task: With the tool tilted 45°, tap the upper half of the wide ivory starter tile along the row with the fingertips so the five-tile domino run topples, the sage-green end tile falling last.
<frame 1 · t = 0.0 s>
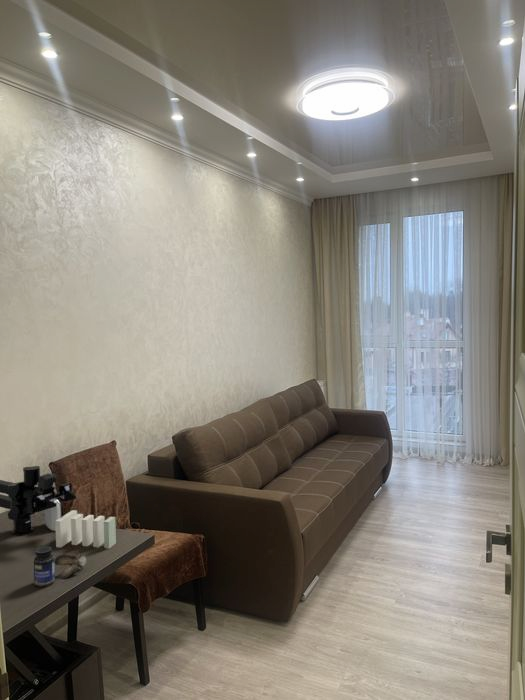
hand: (66, 501, 198), 17 cm above the table, tool horizontal, fingers open, 9 cm apart
pill bottle: (44, 583, 170), on the table
domino 4: (99, 544, 199), on the table
domino 2: (77, 542, 201), on the table
domino 5: (110, 545, 198), on the table
domino 3: (88, 543, 200), on the table
eagle figurine: (70, 573, 177), on the table
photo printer: (53, 527, 216), on the table
domino 1: (67, 541, 202), on the table
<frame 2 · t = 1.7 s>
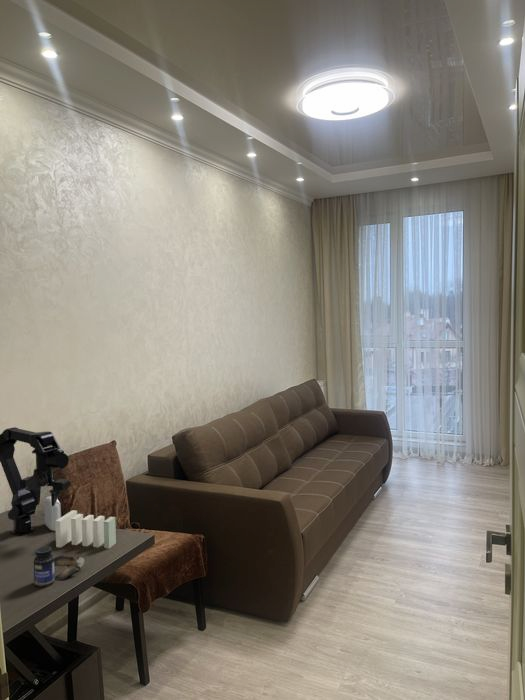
hand: (45, 505, 204), 13 cm above the table, tool pointing down, fingers open, 6 cm apart
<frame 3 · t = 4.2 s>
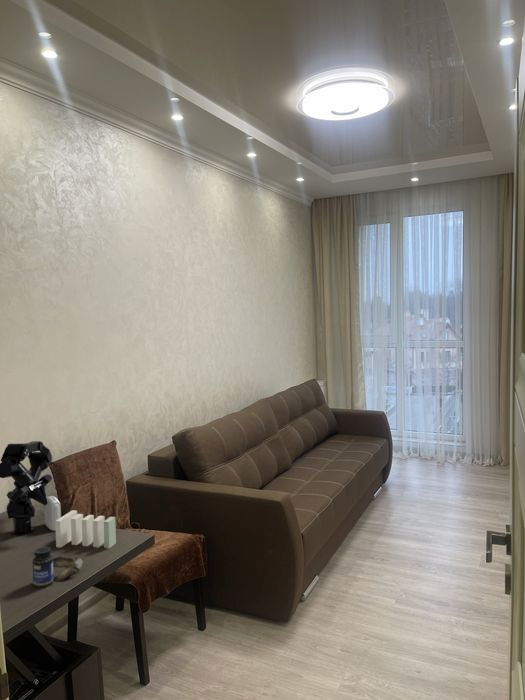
hand: (46, 504, 203), 14 cm above the table, tool tilted 45°, fingers closed
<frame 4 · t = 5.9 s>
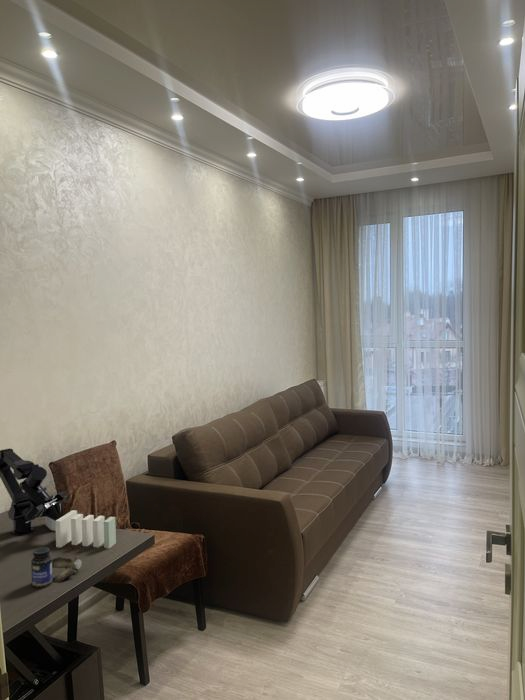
hand: (61, 522, 201), 7 cm above the table, tool tilted 45°, fingers closed
pill bottle: (42, 584, 170), on the table, touching eagle figurine
eagle figurine: (66, 576, 175), on the table, touching pill bottle
everything else where it was.
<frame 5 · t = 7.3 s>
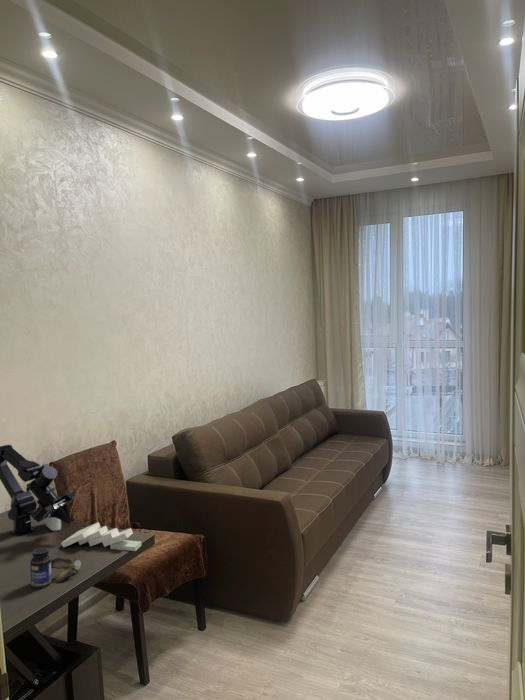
hand: (70, 523, 201), 7 cm above the table, tool tilted 45°, fingers closed
pill bottle: (41, 584, 169), on the table
domino 4: (106, 541, 198), point 1 cm above the table, tilted 66°, touching domino 5
domino 2: (82, 539, 200), point 1 cm above the table, tilted 64°, touching domino 1
domino 5: (113, 544, 198), on the table, tilted 90°, touching domino 4
domino 3: (92, 541, 200), point 1 cm above the table, tilted 66°
eagle figurine: (65, 577, 174), on the table
domino 1: (70, 539, 202), point 1 cm above the table, tilted 64°, touching domino 2
everything else where it was.
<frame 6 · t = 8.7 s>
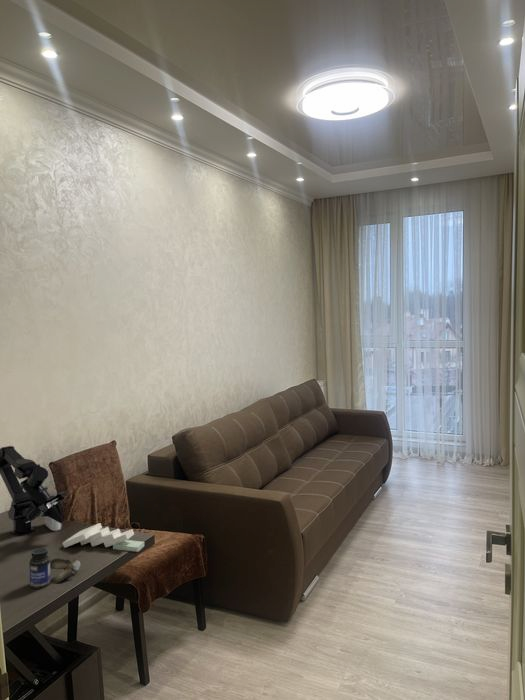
hand: (62, 522, 201), 7 cm above the table, tool tilted 45°, fingers closed
domino 4: (108, 542, 198), point 1 cm above the table, tilted 66°, touching domino 3, domino 5
domino 2: (84, 540, 200), point 1 cm above the table, tilted 65°, touching domino 1, domino 3
domino 5: (116, 544, 197), point 1 cm above the table, tilted 90°, touching domino 4
domino 3: (94, 541, 199), point 1 cm above the table, tilted 66°, touching domino 2, domino 4
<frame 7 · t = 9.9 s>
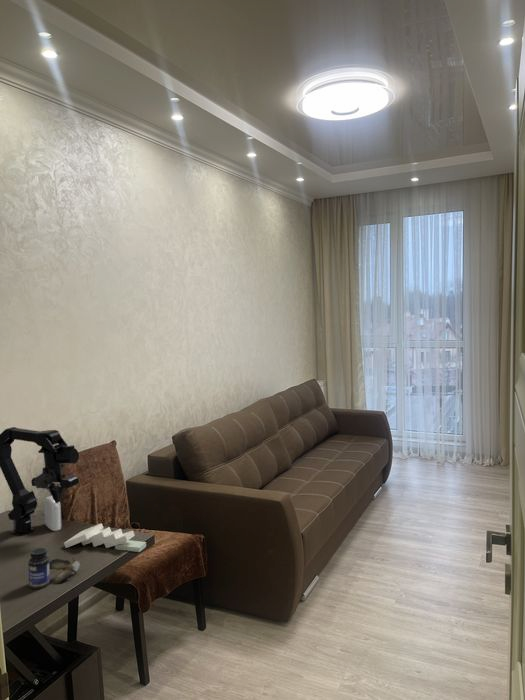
hand: (57, 502, 206), 13 cm above the table, tool pointing down, fingers closed
domino 4: (109, 542, 198), point 1 cm above the table, tilted 66°, touching domino 3, domino 5
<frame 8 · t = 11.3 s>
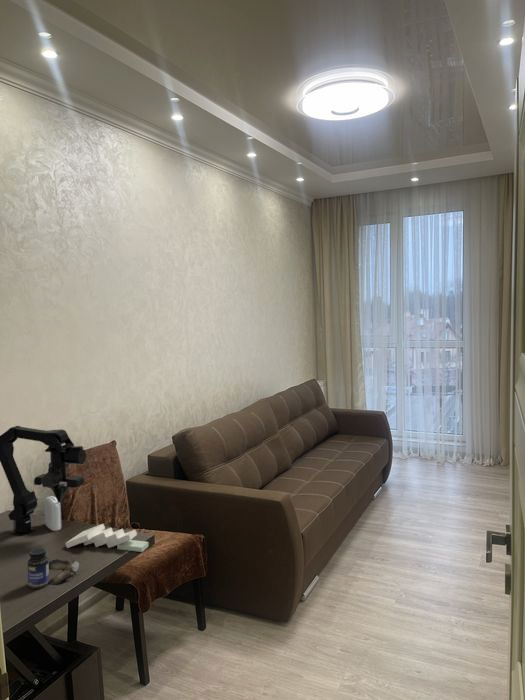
hand: (59, 502, 207), 13 cm above the table, tool pointing down, fingers closed
at the end: domino 5 tilted 90°; domino 1 tilted 66° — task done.
